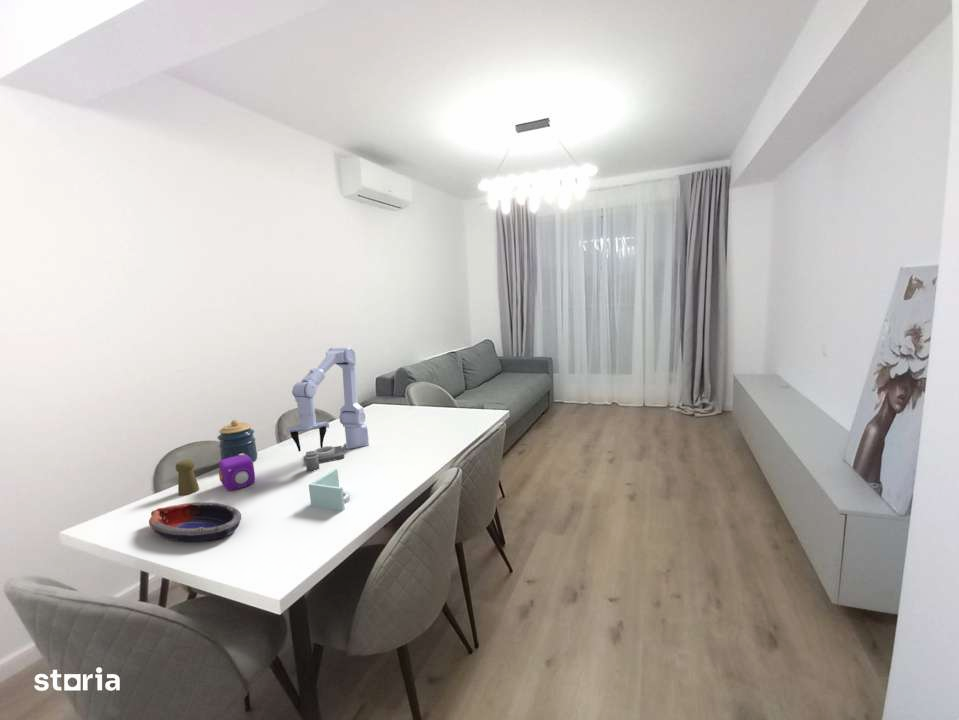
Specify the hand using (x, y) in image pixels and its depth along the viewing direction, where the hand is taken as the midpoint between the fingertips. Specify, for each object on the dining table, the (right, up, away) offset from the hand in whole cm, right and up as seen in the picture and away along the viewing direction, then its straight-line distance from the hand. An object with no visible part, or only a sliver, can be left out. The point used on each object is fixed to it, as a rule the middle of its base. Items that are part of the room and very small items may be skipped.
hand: (310, 448), depth 155 cm
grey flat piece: (0, -6, +14) cm, 15 cm away
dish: (-17, -15, -38) cm, 44 cm away
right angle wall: (+19, -12, -24) cm, 33 cm away
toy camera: (-21, -11, -10) cm, 26 cm away
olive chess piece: (-37, -12, -13) cm, 41 cm away
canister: (-34, -8, +13) cm, 38 cm away
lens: (0, -8, +1) cm, 8 cm away
